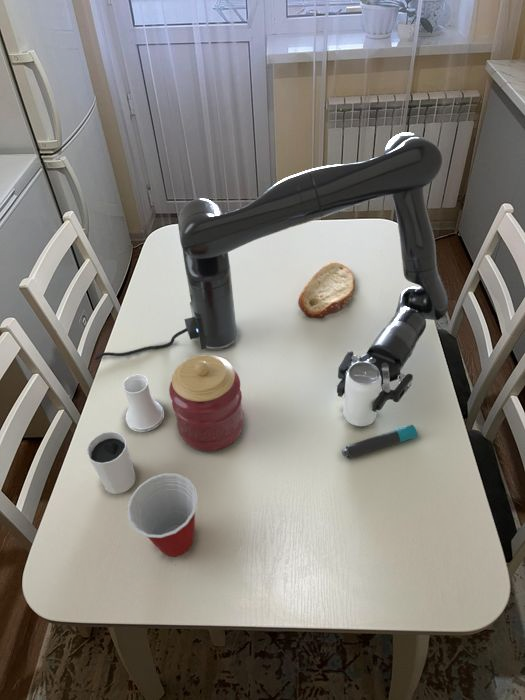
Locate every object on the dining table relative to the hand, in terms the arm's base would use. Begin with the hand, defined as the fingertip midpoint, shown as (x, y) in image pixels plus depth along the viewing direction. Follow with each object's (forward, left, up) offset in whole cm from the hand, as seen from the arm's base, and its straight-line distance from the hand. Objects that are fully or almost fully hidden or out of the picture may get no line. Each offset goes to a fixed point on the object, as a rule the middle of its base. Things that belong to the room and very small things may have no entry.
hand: (356, 400), depth 101 cm
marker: (+2, -6, -7) cm, 9 cm away
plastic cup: (-38, -12, -7) cm, 41 cm away
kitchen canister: (-26, +9, -7) cm, 29 cm away
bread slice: (+12, +40, -7) cm, 43 cm away
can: (+2, +1, -7) cm, 7 cm away
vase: (-38, +16, -7) cm, 42 cm away
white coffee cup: (-45, +3, -7) cm, 46 cm away
